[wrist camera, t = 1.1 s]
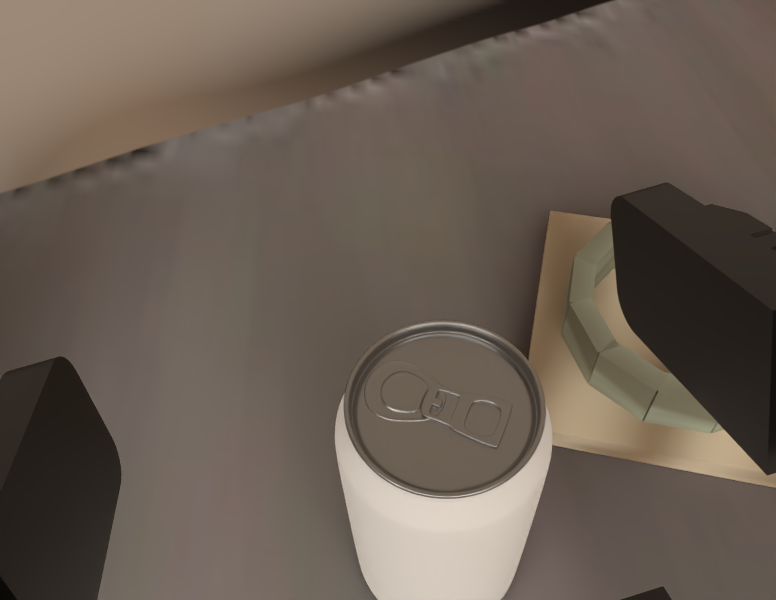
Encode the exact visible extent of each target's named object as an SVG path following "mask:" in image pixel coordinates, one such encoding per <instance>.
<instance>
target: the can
mask: <svg viewBox="0 0 776 600" xmlns="http://www.w3.org/2000/svg"><path fill="white" fill-rule="evenodd" d="M335 447H336V454H337V461H338V466H339V471H340V477H341V481H342V486H343V491H344V496H345V501H346V506H347V510H348V515H349V520H350V524H351V529H352V534H353V538H354V543H355V547H356V552H357V556H358V560H359V564H360V567H361V570H362V573H363V576H364V578H365V580H366V582H367V584H368V586H369V588H370V590H371V591H372V593H373V594H374V595H375V597H376V598H377V599H378V600H501V599H502V598H503V596H504V595H505V593H506V592H507V590H508V588H509V587H510V585H511V583H512V580H513V578H514V575H515V573H516V570H517V567H518V564H519V561H520V558H521V555H522V552H523V549H524V546H525V543H526V540H527V537H528V534H529V531H530V527H531V524H532V521H533V518H534V515H535V512H536V508H537V505H538V502H539V499H540V495H541V492H542V489H543V486H544V482H545V479H546V475H547V472H548V467H549V463H550V459H551V452H552V426H551V420H550V415H549V412H548V409H547V406H546V404H545V397H544V392H543V388H542V385H541V382H540V380H539V378H538V376H537V374H536V372H535V370H534V368H533V367H532V365H531V364H530V362H529V361H528V360H527V358H526V357H525V356H524V355H523V354H522V353H521V352H520V351H519V350H518V349H517V348H516V347H515V346H514V345H513V344H512V343H510V342H509V341H508V340H506V339H505V338H503V337H502V336H500V335H498V334H497V333H495V332H493V331H491V330H489V329H486V328H484V327H481V326H478V325H475V324H471V323H467V322H462V321H455V320H429V321H422V322H417V323H413V324H410V325H407V326H404V327H401V328H399V329H397V330H394V331H392V332H391V333H389V334H387V335H385V336H384V337H382V338H381V339H379V340H378V341H377V342H375V343H374V344H373V345H372V346H371V347H370V348H369V349H368V350H367V351H366V352H365V353H364V354H363V355H362V356H361V358H360V359H359V361H358V362H357V363H356V365H355V367H354V369H353V370H352V372H351V375H350V377H349V379H348V382H347V386H346V390H345V393H344V395H343V397H342V400H341V402H340V405H339V409H338V412H337V417H336V424H335Z"/></svg>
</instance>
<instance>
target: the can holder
mask: <svg viewBox="0 0 776 600" xmlns="http://www.w3.org/2000/svg"><path fill="white" fill-rule="evenodd" d="M528 361H529V362H530V364H531V365H532V367H533V368H534V370H535V372H536V374H537V376H538V378H539V380H540V382H541V385H542V388H543V392H544V397H545V404H546V406H547V409H548V412H549V415H550V420H551V426H552V445H554V446H559V447H564V448H570V449H575V450H580V451H585V452H591V453H596V454H601V455H606V456H611V457H617V458H622V459H627V460H632V461H638V462H643V463H648V464H653V465H659V466H664V467H669V468H674V469H680V470H685V471H690V472H695V473H700V474H706V475H711V476H716V477H721V478H727V479H732V480H737V481H742V482H748V483H753V484H758V485H763V486H769V487H774V488H776V473H774V474H771V475H768V476H767V475H766V474H765V473H764V472H763V471H762V470H761V469H760V468H759V466H758V465H757V464H756V463H755V462H754V461H753V460H752V459H751V458H750V457H749V456H748V455H747V454H746V452H745V451H744V450H743V449H742V448H741V447H740V446H739V445H738V444H737V443H736V442H735V441H734V440H733V439H732V437H731V436H730V435H729V434H728V433H727V432H726V431H725V430H724V429H723V428H722V427H721V426H720V425H719V423H718V422H717V421H716V420H715V419H714V418H713V417H712V416H711V415H710V414H709V413H708V412H707V411H706V410H705V408H704V407H703V406H702V405H701V404H700V403H699V402H698V401H697V400H696V399H695V398H694V397H693V396H692V394H691V393H690V392H689V391H688V390H687V389H686V388H685V387H684V386H683V385H682V384H681V383H680V382H679V381H678V379H677V378H676V377H675V376H674V375H673V374H672V373H671V372H670V371H669V370H668V369H667V368H666V367H665V365H664V364H663V363H662V362H661V361H660V360H659V359H658V358H657V357H656V356H655V355H654V354H653V353H652V351H651V350H650V349H649V348H648V347H647V346H646V345H645V344H644V343H643V342H642V341H641V340H640V339H639V338H638V336H637V335H636V334H635V333H634V332H633V331H632V330H631V328H630V327H629V325H628V323H627V321H626V319H625V317H624V315H623V312H622V310H621V307H620V303H619V299H618V294H617V284H616V272H615V260H614V248H613V237H612V225H611V219H607V218H600V217H593V216H586V215H578V214H571V213H564V212H557V211H550V214H549V220H548V225H547V231H546V238H545V245H544V252H543V259H542V266H541V273H540V280H539V286H538V293H537V300H536V307H535V314H534V321H533V328H532V335H531V342H530V349H529V356H528Z"/></svg>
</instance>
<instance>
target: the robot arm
mask: <svg viewBox="0 0 776 600" xmlns="http://www.w3.org/2000/svg"><path fill="white" fill-rule="evenodd" d="M611 225H612V237H613V248H614V260H615V272H616V284H617V294H618V299H619V303H620V307H621V310H622V312H623V315H624V317H625V319H626V321H627V323H628V325H629V327H630V328H631V330H632V331H633V332H634V333H635V334H636V335H637V336H638V338H639V339H640V340H641V341H642V342H643V343H644V344H645V345H646V346H647V347H648V348H649V349H650V350H651V351H652V353H653V354H654V355H655V356H656V357H657V358H658V359H659V360H660V361H661V362H662V363H663V364H664V365H665V367H666V368H667V369H668V370H669V371H670V372H671V373H672V374H673V375H674V376H675V377H676V378H677V379H678V381H679V382H680V383H681V384H682V385H683V386H684V387H685V388H686V389H687V390H688V391H689V392H690V393H691V394H692V396H693V397H694V398H695V399H696V400H697V401H698V402H699V403H700V404H701V405H702V406H703V407H704V408H705V410H706V411H707V412H708V413H709V414H710V415H711V416H712V417H713V418H714V419H715V420H716V421H717V422H718V423H719V425H720V426H721V427H722V428H723V429H724V430H725V431H726V432H727V433H728V434H729V435H730V436H731V437H732V439H733V440H734V441H735V442H736V443H737V444H738V445H739V446H740V447H741V448H742V449H743V450H744V451H745V452H746V454H747V455H748V456H749V457H750V458H751V459H752V460H753V461H754V462H755V463H756V464H757V465H758V466H759V468H760V469H761V470H762V471H763V472H764V473H765V474H766V475H767V476H768V475H771V474H774V473H776V232H774V233H773V231H772V228H770V227H769V226H767V225H765V224H764V223H762V222H760V221H759V220H757V219H755V218H754V217H752V216H750V215H749V214H747V213H744V212H740V211H736V210H732V209H728V208H724V207H720V206H717V205H713V204H710V205H706V206H704V205H703V204H701V203H700V202H698V201H696V200H695V199H693V198H692V197H690V196H689V195H687V194H686V193H684V192H682V191H681V190H679V189H678V188H676V187H675V186H673V185H671V184H669V183H663V184H659V185H656V186H652V187H649V188H645V189H642V190H638V191H635V192H631V193H628V194H625V195H621V196H618V197H616V198H614V200H613V202H612V205H611ZM120 485H121V465H120V460H119V455H118V452H117V449H116V446H115V443H114V441H113V439H112V437H111V435H110V433H109V431H108V429H107V427H106V426H105V424H104V422H103V420H102V418H101V416H100V414H99V413H98V411H97V409H96V407H95V405H94V403H93V401H92V399H91V398H90V396H89V394H88V392H87V390H86V388H85V386H84V385H83V383H82V381H81V379H80V377H79V375H78V373H77V372H76V370H75V368H74V367H73V365H72V364H71V363H70V362H69V361H68V360H67V359H66V358H64V357H60V356H59V357H56V358H53V359H49V360H46V361H42V362H39V363H35V364H32V365H28V366H25V367H21V368H18V369H14V370H11V371H8V372H6V373H5V374H4V375H3V376H2V378H1V380H0V600H97V598H98V593H99V588H100V583H101V578H102V573H103V568H104V563H105V558H106V553H107V549H108V544H109V539H110V534H111V529H112V524H113V519H114V514H115V509H116V504H117V499H118V494H119V490H120ZM621 600H671V598H670V596H669V595H668V593H667V592H666V590H665V588H664V587H659V588H656V589H653V590H650V591H647V592H644V593H640V594H637V595H634V596H631V597H628V598H625V599H621Z"/></svg>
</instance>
